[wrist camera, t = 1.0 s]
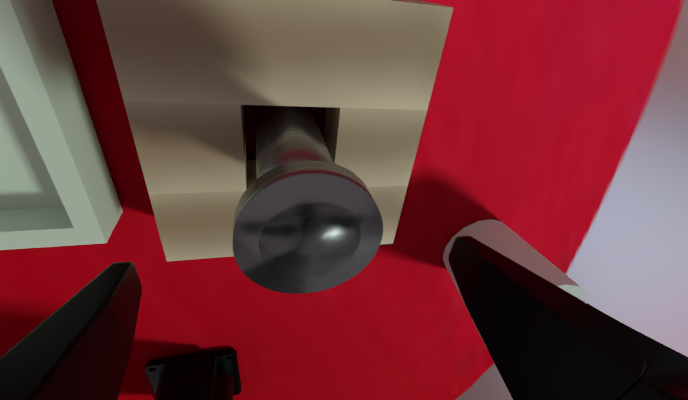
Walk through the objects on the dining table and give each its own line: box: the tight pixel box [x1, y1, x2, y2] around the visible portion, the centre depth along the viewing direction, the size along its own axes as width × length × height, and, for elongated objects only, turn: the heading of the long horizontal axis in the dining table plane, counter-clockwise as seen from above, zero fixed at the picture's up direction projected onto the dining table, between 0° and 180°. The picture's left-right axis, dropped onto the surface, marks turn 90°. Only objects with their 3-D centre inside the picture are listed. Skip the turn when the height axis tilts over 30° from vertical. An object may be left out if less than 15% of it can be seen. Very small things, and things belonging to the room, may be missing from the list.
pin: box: [233, 105, 383, 294], centre depth 13 cm, size 4×4×9 cm
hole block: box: [96, 0, 453, 261], centre depth 16 cm, size 12×12×3 cm
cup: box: [443, 219, 586, 348], centre depth 23 cm, size 7×7×7 cm
